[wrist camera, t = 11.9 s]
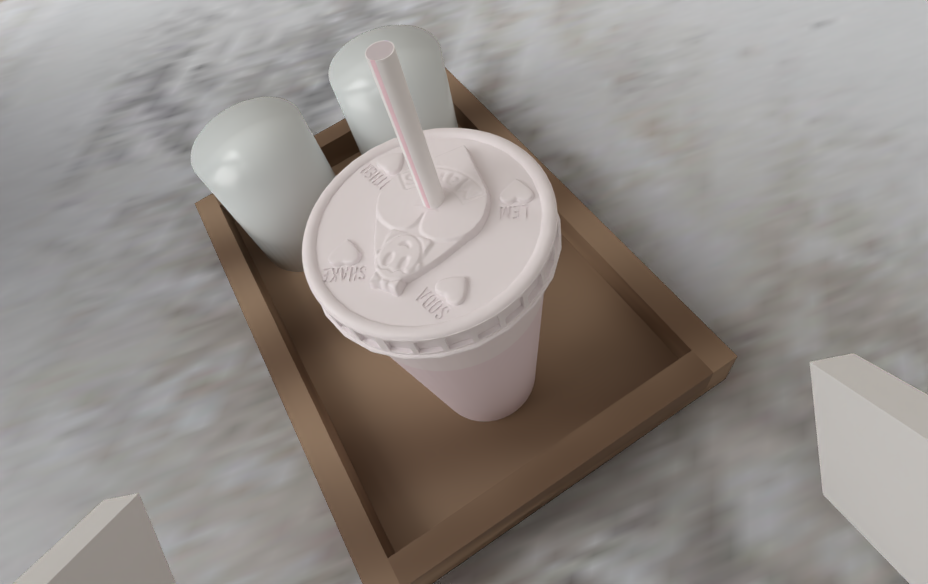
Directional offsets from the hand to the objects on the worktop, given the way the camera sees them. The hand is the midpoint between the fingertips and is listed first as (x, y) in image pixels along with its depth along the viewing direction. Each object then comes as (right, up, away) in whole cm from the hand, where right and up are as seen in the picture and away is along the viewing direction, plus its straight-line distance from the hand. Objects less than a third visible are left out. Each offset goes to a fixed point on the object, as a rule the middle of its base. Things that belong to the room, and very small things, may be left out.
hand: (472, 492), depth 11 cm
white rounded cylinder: (-7, +7, +16) cm, 19 cm away
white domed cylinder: (-2, +10, +17) cm, 20 cm away
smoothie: (+1, +1, +11) cm, 11 cm away
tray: (-2, +4, +14) cm, 15 cm away
